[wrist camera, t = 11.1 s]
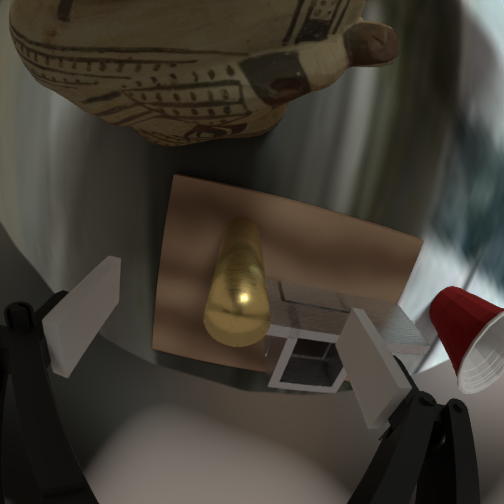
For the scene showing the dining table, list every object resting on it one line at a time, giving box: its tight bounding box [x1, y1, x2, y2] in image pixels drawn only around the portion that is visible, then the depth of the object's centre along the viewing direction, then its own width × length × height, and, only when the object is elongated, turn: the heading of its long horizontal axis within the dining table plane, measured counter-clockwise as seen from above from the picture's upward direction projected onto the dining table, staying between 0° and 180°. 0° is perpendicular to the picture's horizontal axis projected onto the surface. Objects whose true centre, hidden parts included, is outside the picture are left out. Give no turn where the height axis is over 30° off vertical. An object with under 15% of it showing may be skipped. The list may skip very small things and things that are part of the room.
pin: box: [204, 217, 271, 347], centre depth 20 cm, size 3×3×14 cm
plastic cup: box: [429, 286, 504, 394], centre depth 26 cm, size 11×11×12 cm
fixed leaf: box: [264, 280, 431, 360], centre depth 26 cm, size 7×14×8 cm, turn 76°
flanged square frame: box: [265, 279, 349, 393], centre depth 26 cm, size 7×13×8 cm, turn 76°
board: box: [152, 173, 424, 381], centre depth 30 cm, size 20×26×1 cm
